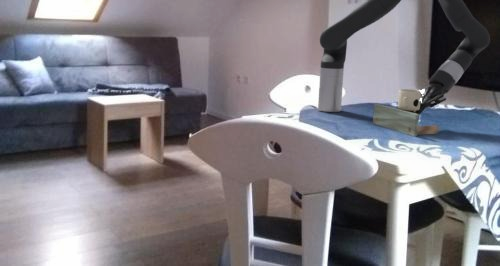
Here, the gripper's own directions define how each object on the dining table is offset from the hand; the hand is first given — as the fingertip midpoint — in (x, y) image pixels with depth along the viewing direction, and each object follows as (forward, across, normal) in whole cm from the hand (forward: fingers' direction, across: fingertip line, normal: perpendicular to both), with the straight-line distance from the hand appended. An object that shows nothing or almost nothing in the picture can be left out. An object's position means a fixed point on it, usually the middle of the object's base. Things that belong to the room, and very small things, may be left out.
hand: (414, 113), depth 164 cm
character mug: (+6, 0, +2) cm, 6 cm away
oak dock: (+5, 0, +2) cm, 6 cm away
